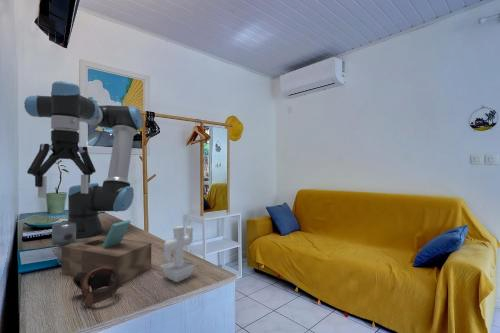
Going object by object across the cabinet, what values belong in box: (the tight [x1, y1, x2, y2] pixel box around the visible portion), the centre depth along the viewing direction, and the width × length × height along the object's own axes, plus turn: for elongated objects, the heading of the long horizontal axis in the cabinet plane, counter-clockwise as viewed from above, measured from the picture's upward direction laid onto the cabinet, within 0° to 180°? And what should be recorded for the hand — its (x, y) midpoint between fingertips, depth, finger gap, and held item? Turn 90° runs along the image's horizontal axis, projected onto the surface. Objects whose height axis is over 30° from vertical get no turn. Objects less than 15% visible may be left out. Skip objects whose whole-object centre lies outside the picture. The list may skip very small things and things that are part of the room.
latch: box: [102, 219, 132, 248], centre depth 78 cm, size 6×8×1 cm
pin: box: [51, 221, 77, 264], centre depth 84 cm, size 6×6×13 cm
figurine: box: [160, 225, 197, 283], centre depth 75 cm, size 7×9×15 cm
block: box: [61, 234, 152, 285], centre depth 79 cm, size 13×22×8 cm, turn 70°
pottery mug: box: [72, 267, 123, 308], centre depth 63 cm, size 12×10×8 cm
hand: (64, 195), depth 84 cm, fingers open, 13 cm apart
